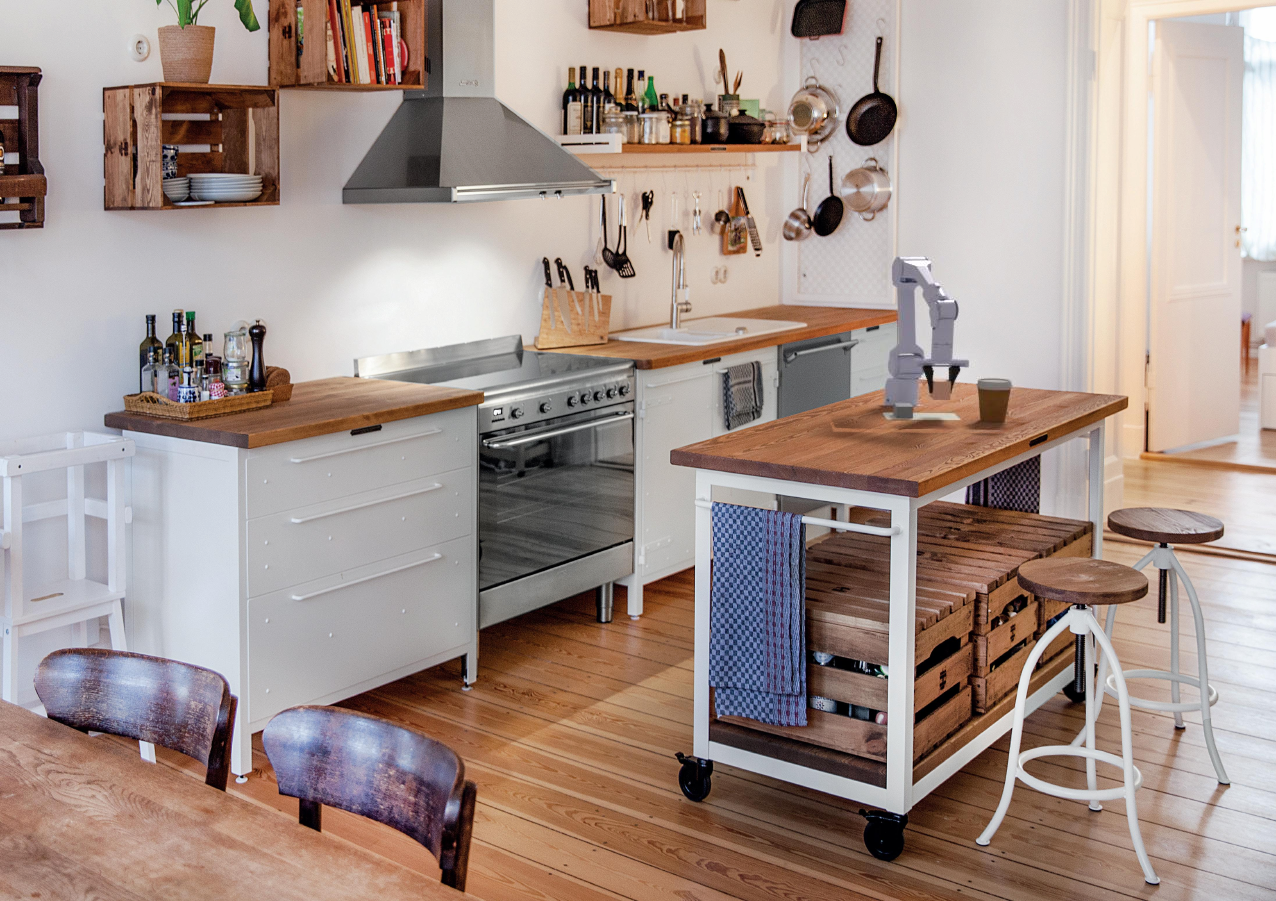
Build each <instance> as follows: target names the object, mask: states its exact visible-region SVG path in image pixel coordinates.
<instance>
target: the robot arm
mask: <svg viewBox="0 0 1276 901" xmlns="http://www.w3.org/2000/svg"><path fill="white" fill-rule="evenodd" d="M931 272H932V262H931V259H930V258H929V257H928V256H896V258H894V260H893V263H892V265H891V280H892V281H891V282H892V286H893V287H895V288H896V291H897V292H896V295H897V296H896V297H897V298H896V299H897V327H898V328H897V329H898V330H897V332H898V333H897V334H898V335H897V336H898V344H897V345H895V346H894V347H893V348H892V349H891V350H890V351H889V356H888V357H889V358H888V362H887V369H888V373H889V374H890V376H889V377H888V378H887V379H886V382H885V383H884V384H885V385H884V402H883V403H884V404H882V406H894V403H911V405H912V406H913V407H915V406H916V407H918V406H919V407H923V406H924V405H922V404H919V388H920V386H919V384H920V378H922V376H925V379H926V382H927V387H928V393H929V394H930V393H933V378H934V372H935V370H934V368H948V380H949V381H951V394H953V388H954V385H955V383H956V380H957V377H958V376H959V374H960V373H961V368H969V367H970V360H969V359H960V358H959V359H958V358H954V359H953V350H954V332H955V331H954V329H955V327H954V326H955V321H956V320H957V319H958V316H959V304H958V301H957V300H956V299H955V298H950V297H949V296H948V295H947V293H946V291H945V289H944V288H943V286H942V285H941V284H940V283H938V282H935V280H934V278H933V275H932V273H931ZM919 286H920V288H921V289H922V297H923V299H924V301H925V303H926V304H927V306H928V308H929V310H928V311H929V312H928V314H929V319H930V327H931V328H932V330H931V350H930V357H931V358H925V351H924V349H923V348H922V347H920V346H919V345H918V344H917V340H916V339H917V337H916V304H915V303H916V302H915V298H916V297H915V290H916V288H918V287H919Z"/></svg>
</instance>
